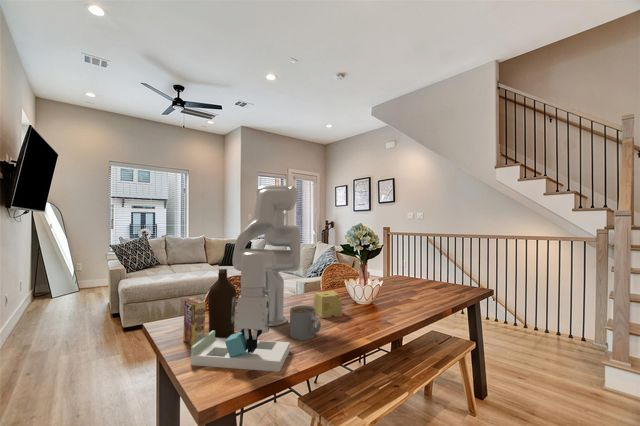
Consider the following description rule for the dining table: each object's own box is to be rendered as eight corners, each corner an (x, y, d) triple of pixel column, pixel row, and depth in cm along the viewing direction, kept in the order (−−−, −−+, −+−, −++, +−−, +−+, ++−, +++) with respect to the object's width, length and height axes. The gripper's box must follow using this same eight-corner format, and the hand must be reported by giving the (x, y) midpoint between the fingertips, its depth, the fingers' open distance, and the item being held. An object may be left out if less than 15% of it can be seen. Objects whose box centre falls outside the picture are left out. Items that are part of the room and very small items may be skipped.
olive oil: (205, 339, 112) (207, 272, 112) (208, 329, 122) (210, 267, 123) (235, 337, 114) (236, 271, 115) (235, 327, 125) (237, 266, 125)
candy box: (205, 344, 108) (206, 301, 108) (193, 347, 104) (194, 303, 105) (194, 337, 114) (195, 296, 114) (182, 340, 111) (183, 299, 111)
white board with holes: (212, 346, 106) (212, 330, 106) (289, 351, 103) (289, 335, 103) (190, 365, 92) (190, 347, 92) (279, 371, 89) (279, 353, 89)
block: (235, 350, 96) (230, 335, 96) (250, 345, 96) (245, 330, 96) (229, 357, 91) (224, 341, 92) (245, 352, 91) (240, 336, 91)
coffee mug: (284, 334, 118) (285, 308, 118) (304, 328, 125) (305, 304, 125) (305, 345, 108) (306, 317, 108) (326, 338, 115) (326, 311, 115)
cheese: (342, 316, 141) (342, 295, 141) (320, 319, 137) (321, 297, 137) (333, 310, 150) (333, 290, 150) (313, 312, 146) (313, 291, 146)
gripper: (279, 289, 97) (278, 347, 96) (234, 287, 98) (233, 344, 98) (273, 295, 89) (271, 357, 89) (224, 293, 91) (223, 354, 90)
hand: (251, 350), depth 93 cm, fingers closed
